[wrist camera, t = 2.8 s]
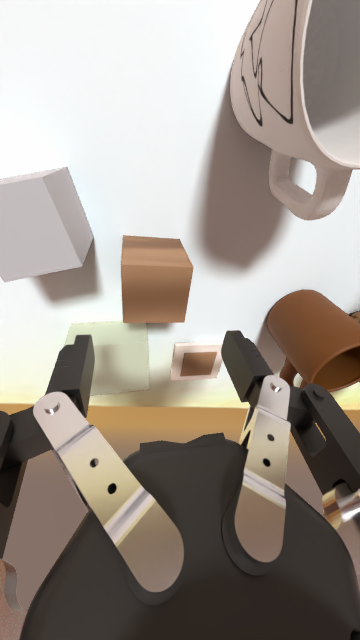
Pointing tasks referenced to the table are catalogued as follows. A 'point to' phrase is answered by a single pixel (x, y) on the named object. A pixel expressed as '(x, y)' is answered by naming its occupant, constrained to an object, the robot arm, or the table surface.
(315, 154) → the mug
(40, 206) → the grey block
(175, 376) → the tile
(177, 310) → the walnut block
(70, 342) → the base block
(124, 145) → the table surface
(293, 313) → the mug
